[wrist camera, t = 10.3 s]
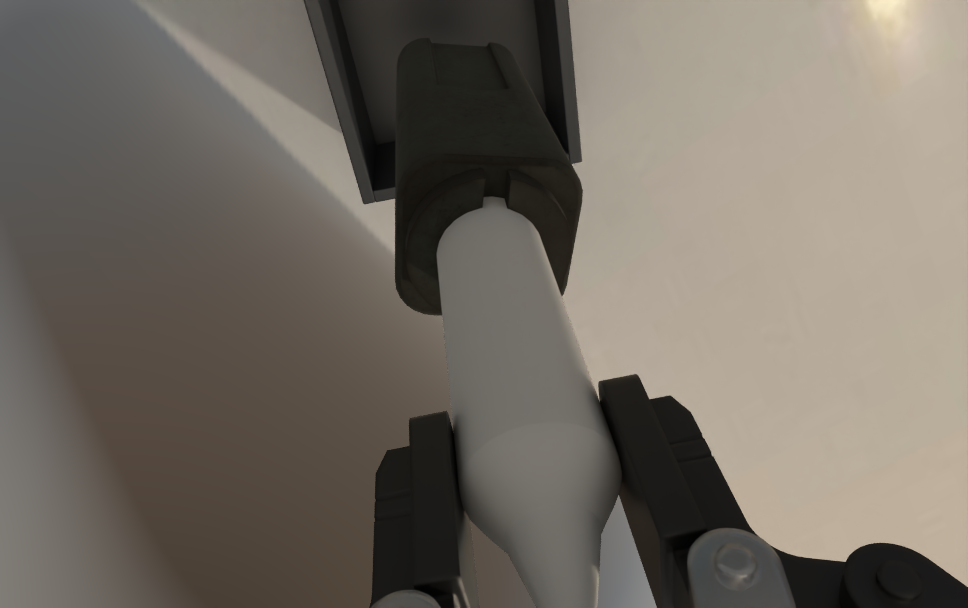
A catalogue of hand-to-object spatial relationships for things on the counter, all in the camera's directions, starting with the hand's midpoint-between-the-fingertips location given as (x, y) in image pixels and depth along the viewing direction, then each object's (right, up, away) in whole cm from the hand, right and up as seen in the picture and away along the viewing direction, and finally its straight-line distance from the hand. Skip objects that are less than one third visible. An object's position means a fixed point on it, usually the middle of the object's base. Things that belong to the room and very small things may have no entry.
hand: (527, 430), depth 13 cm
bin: (-3, +18, +28) cm, 34 cm away
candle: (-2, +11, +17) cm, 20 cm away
